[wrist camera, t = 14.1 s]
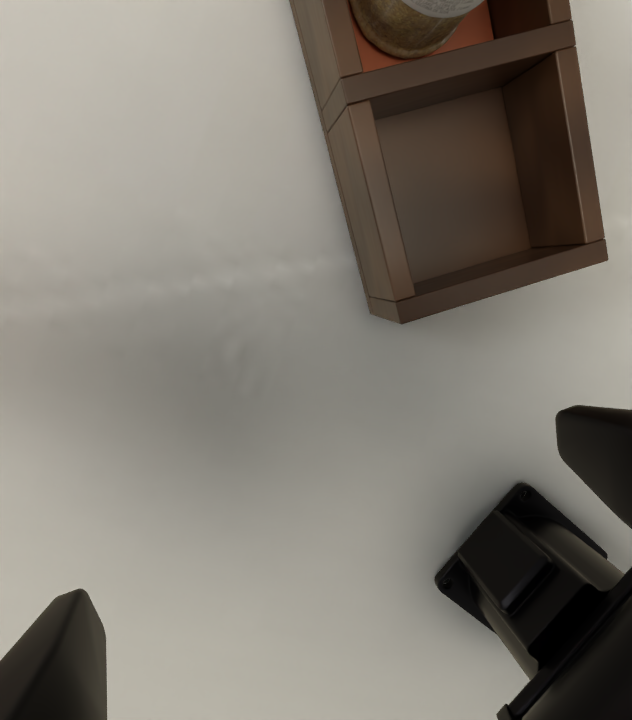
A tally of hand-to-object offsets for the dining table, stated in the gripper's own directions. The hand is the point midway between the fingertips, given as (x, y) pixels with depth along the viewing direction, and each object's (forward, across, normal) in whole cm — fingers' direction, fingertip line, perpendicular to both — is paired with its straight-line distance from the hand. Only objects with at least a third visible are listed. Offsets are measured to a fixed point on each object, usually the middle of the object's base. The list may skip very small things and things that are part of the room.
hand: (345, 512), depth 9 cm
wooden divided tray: (+13, -9, -8) cm, 18 cm away
